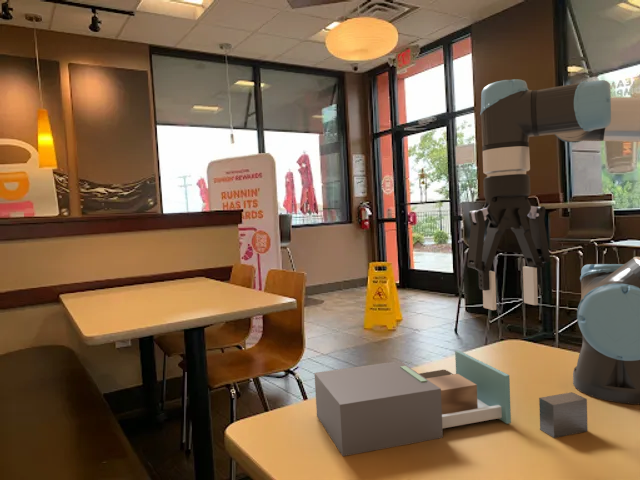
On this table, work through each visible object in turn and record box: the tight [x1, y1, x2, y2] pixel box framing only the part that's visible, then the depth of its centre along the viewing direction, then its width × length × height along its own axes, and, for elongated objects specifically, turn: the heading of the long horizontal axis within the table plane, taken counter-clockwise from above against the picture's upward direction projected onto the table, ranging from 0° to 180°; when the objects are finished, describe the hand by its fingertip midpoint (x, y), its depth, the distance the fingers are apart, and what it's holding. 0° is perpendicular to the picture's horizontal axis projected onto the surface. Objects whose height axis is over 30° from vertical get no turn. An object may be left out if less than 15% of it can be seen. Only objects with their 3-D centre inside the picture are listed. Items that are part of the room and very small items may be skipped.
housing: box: [314, 360, 444, 457], centre depth 79 cm, size 16×15×8 cm
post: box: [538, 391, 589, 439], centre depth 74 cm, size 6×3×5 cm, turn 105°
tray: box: [442, 350, 512, 429], centre depth 82 cm, size 16×15×8 cm
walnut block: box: [426, 373, 478, 415], centre depth 83 cm, size 7×6×4 cm
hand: (510, 306), depth 85 cm, fingers open, 8 cm apart
